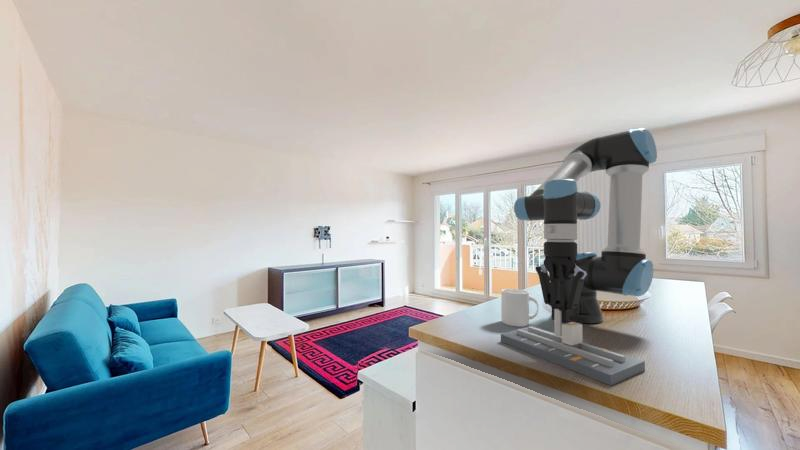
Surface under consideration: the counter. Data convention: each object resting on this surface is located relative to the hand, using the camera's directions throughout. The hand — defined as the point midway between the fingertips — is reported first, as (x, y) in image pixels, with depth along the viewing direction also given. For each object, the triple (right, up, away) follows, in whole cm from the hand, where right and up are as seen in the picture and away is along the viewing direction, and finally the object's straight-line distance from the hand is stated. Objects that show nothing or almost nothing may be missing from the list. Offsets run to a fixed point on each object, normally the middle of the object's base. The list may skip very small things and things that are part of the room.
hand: (560, 334), depth 77 cm
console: (+1, -5, -1) cm, 5 cm away
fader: (+2, -2, -3) cm, 4 cm away
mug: (0, -5, +25) cm, 26 cm away
